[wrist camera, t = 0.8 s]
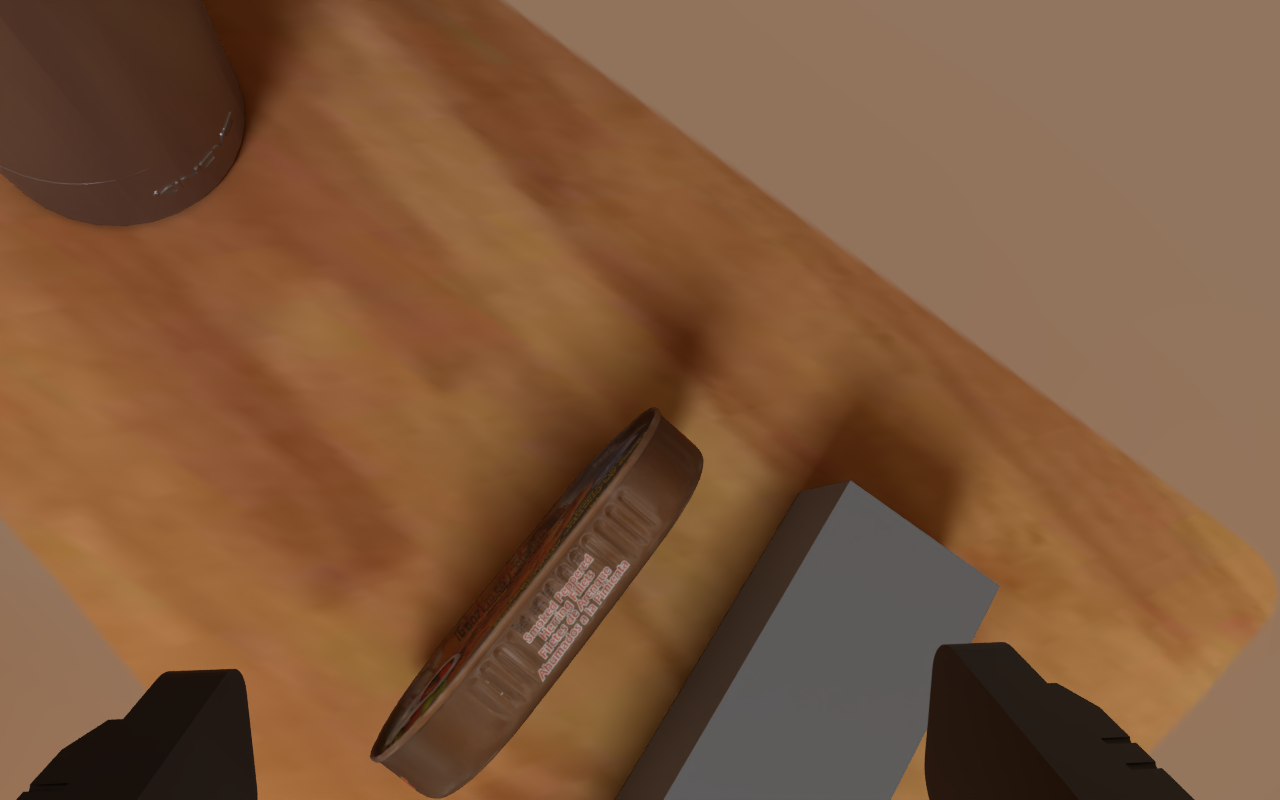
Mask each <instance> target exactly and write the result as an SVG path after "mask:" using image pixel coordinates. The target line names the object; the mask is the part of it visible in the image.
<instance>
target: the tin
mask: <svg viewBox="0 0 1280 800" xmlns="http://www.w3.org/2000/svg"><path fill="white" fill-rule="evenodd" d="M702 469H703V456H702V454H701V452H700V451H699V449H698V448H697V447H696V446H695V445H694V444H693V443H692V442H691V441H690V440H689V439H688V438H687V437H686V436H684V435H683V434H682V433H681V432H680V431H679V430H677V429H676V428H675V427H674V426H673V425H672V424H670V423H669V422H668V421H667V420H666V419H665V418H664V417H663V416H662V415H661V413H660V411H659V409H658V408H656V407H653V408H650V409H648V410H647V411H645V412H643V413H642V414H641V415H640V416H638V417H637V418H636V419H635V420H634V421H632V422H631V423H630V424H629V425H628V426H627V427H626V428H625V429H624V430H623V431H622V432H620V433H619V434H618V435H617V436H616V437H615V438H614V439H613V440H612V441H611V442H610V443H609V444H608V445H606V446H605V447H604V448H603V449H602V450H601V451H600V453H599V454H598V455H597V456H596V457H595V458H594V459H593V460H592V461H591V462H590V464H589V465H588V466H587V467H586V468H585V469H584V470H583V471H582V473H581V474H580V475H579V476H578V477H577V479H576V480H575V481H574V483H573V484H572V485H571V486H570V487H569V488H568V489H567V490H566V492H565V493H564V494H563V495H562V496H561V497H560V499H559V500H558V501H557V502H556V504H555V505H554V506H553V507H552V508H551V510H550V511H549V512H548V514H547V515H546V516H545V517H544V518H543V519H542V521H541V522H540V523H539V524H538V525H537V527H536V528H535V529H534V531H533V532H532V533H531V534H530V535H529V537H528V538H527V539H526V540H525V541H524V543H523V544H522V545H521V546H520V548H519V549H518V550H517V551H516V553H515V554H514V555H513V556H512V557H511V559H510V560H509V561H508V562H507V564H506V565H505V566H504V567H503V568H502V570H501V571H500V572H499V573H498V574H497V576H496V577H495V578H494V579H493V581H492V582H491V583H490V584H489V586H488V587H487V588H486V589H485V590H484V592H483V593H482V594H481V595H480V596H479V598H478V599H477V600H476V601H475V603H474V604H473V605H472V606H471V607H470V609H469V610H468V611H467V612H466V613H465V615H464V616H463V617H462V618H461V620H460V621H459V622H458V623H457V625H456V626H455V627H454V628H453V630H452V631H451V632H450V633H449V634H448V636H447V637H446V638H445V639H444V641H443V642H442V643H441V644H440V646H439V647H438V648H437V649H436V651H435V652H434V654H433V655H432V656H431V657H430V659H429V660H428V662H427V663H426V664H425V666H424V667H423V668H422V669H421V671H420V672H419V673H418V675H417V676H416V678H415V679H414V680H413V682H412V683H411V684H410V686H409V687H408V689H407V690H406V691H405V693H404V694H403V696H402V697H401V699H400V700H399V701H398V703H397V705H396V707H395V708H394V710H393V711H392V713H391V714H390V716H389V718H388V720H387V721H386V723H385V724H384V726H383V728H382V730H381V732H380V733H379V736H378V738H377V740H376V742H375V743H374V745H373V748H372V750H371V755H370V758H371V759H372V761H374V762H379V763H381V764H383V765H384V766H385V767H387V768H388V769H389V770H391V771H392V772H393V773H395V774H396V775H397V776H398V777H400V778H401V779H402V780H403V781H405V782H406V783H407V784H408V785H410V786H411V787H412V788H414V789H415V790H416V791H418V792H420V793H421V794H423V795H425V796H427V797H430V798H443V797H446V796H448V795H450V794H452V793H454V792H455V791H457V790H459V789H460V788H461V787H463V786H464V785H465V784H467V783H468V782H469V781H470V780H472V779H473V778H474V777H475V776H476V775H477V774H478V773H479V772H480V771H481V770H482V769H483V768H484V767H485V766H486V765H487V764H488V763H489V762H490V761H491V760H492V759H493V758H494V757H495V756H496V755H497V754H498V752H499V751H500V750H501V749H502V748H503V747H504V746H505V745H506V743H507V742H508V741H509V740H510V739H511V738H512V737H513V735H514V734H515V733H516V732H517V731H518V729H519V728H520V727H521V726H522V724H523V723H524V722H525V721H526V719H527V718H528V717H529V716H530V714H531V713H532V712H533V710H534V709H535V708H536V706H537V705H538V704H539V702H540V701H541V700H542V699H543V697H544V696H545V695H546V694H547V692H548V691H549V690H550V689H551V687H552V686H553V685H554V683H555V682H556V681H557V679H558V678H559V677H560V676H561V674H562V673H563V672H564V671H565V669H566V668H567V667H568V665H569V664H570V663H571V661H572V660H573V659H574V657H575V656H576V655H577V654H578V652H579V651H580V650H581V648H582V647H583V646H584V645H585V643H586V642H587V641H588V639H589V638H590V637H591V635H592V634H593V633H594V631H595V630H596V629H597V627H598V626H599V625H600V623H601V622H602V621H603V619H604V618H605V617H606V615H607V614H608V613H609V612H610V610H611V609H612V608H613V606H614V605H615V604H616V602H617V601H618V600H619V598H620V597H621V596H622V594H623V593H624V592H625V590H626V589H627V588H628V586H629V585H630V583H631V582H632V581H633V580H634V578H635V577H636V576H637V575H638V573H639V572H640V570H641V569H642V568H643V566H644V565H645V564H646V562H647V561H648V560H649V558H650V557H651V556H652V554H653V553H654V551H655V550H656V549H657V547H658V546H659V545H660V543H661V542H662V541H663V539H664V538H665V537H666V535H667V534H668V533H669V531H670V530H671V528H672V527H673V525H674V524H675V522H676V521H677V519H678V518H679V516H680V515H681V513H682V511H683V510H684V508H685V507H686V505H687V503H688V502H689V500H690V498H691V496H692V495H693V492H694V490H695V488H696V486H697V484H698V482H699V479H700V476H701V473H702Z"/></svg>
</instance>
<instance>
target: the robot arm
mask: <svg viewBox="0 0 1280 800" xmlns="http://www.w3.org/2000/svg"><path fill="white" fill-rule="evenodd" d="M244 125H245V114H244V102H243V96H242V94H241V91H240V88H239V85H238V82H237V79H236V76H235V74H234V72H233V69H232V67H231V65H230V63H229V60H228V58H227V56H226V54H225V51H224V49H223V47H222V45H221V43H220V40H219V38H218V36H217V34H216V31H215V29H214V26H213V24H212V21H211V19H210V17H209V15H208V12H207V10H206V8H205V6H204V4H203V1H202V0H0V173H1V174H2V175H4V176H5V177H6V178H7V179H8V180H9V181H10V182H12V183H13V184H14V185H15V186H16V187H17V188H19V189H20V190H21V191H22V192H23V193H25V194H26V195H27V196H29V197H30V198H32V199H33V200H35V201H36V202H37V203H39V204H40V205H42V206H43V207H45V208H46V209H49V210H51V211H53V212H56V213H58V214H60V215H63V216H65V217H67V218H69V219H73V220H78V221H82V222H86V223H91V224H95V225H112V226H128V225H135V224H142V223H149V222H154V221H157V220H160V219H163V218H165V217H168V216H171V215H174V214H177V213H179V212H181V211H183V210H184V209H186V208H188V207H189V206H191V205H193V204H195V203H196V202H198V201H200V200H201V199H202V198H203V197H204V196H206V195H207V194H208V193H209V192H210V191H211V190H212V189H213V188H215V187H216V186H217V185H218V184H219V183H220V181H221V180H222V179H223V177H224V176H225V174H226V173H227V172H228V170H229V169H230V167H231V166H232V165H233V163H234V160H235V158H236V155H237V153H238V151H239V148H240V146H241V143H242V138H243V131H244ZM925 779H926V786H927V791H928V796H929V800H1194V799H1193V798H1192V797H1191V796H1190V795H1189V794H1188V793H1187V792H1186V791H1185V790H1184V789H1183V788H1182V787H1181V786H1180V785H1179V784H1178V783H1177V782H1176V781H1175V780H1174V779H1173V778H1172V777H1171V776H1170V775H1168V774H1167V773H1166V772H1165V771H1164V770H1163V769H1162V768H1159V769H1157V767H1156V765H1155V761H1154V760H1153V759H1152V758H1151V757H1150V756H1149V755H1148V754H1147V753H1146V752H1145V751H1144V750H1143V749H1142V748H1141V747H1140V746H1139V745H1138V744H1137V743H1131V741H1130V736H1129V735H1127V734H1126V733H1125V732H1124V731H1123V730H1122V729H1121V728H1120V727H1119V726H1118V725H1117V724H1116V723H1115V722H1114V721H1113V720H1112V719H1111V718H1110V717H1109V716H1108V715H1107V714H1106V713H1105V712H1104V711H1103V710H1102V709H1101V708H1100V707H1098V706H1096V705H1095V704H1093V703H1091V702H1089V701H1088V700H1086V699H1084V698H1082V697H1080V696H1079V695H1077V694H1075V693H1073V692H1072V691H1070V690H1068V689H1066V688H1065V687H1063V686H1061V685H1059V684H1058V683H1047V682H1046V681H1045V680H1044V679H1043V678H1042V677H1041V676H1040V675H1039V674H1038V673H1037V672H1036V671H1035V670H1034V669H1033V668H1032V667H1031V666H1030V665H1029V664H1028V663H1027V662H1026V661H1025V660H1024V659H1023V658H1022V657H1021V656H1020V655H1019V654H1018V653H1017V652H1016V651H1015V649H1014V648H1013V647H1011V646H1010V645H1009V644H1007V643H1004V642H993V643H966V644H943V645H941V646H940V647H938V649H937V651H936V653H935V656H934V660H933V667H932V678H931V690H930V702H929V714H928V726H927V738H926V750H925ZM17 800H257V783H256V774H255V765H254V755H253V746H252V737H251V728H250V719H249V710H248V700H247V692H246V685H245V681H244V678H243V676H242V674H241V673H240V671H238V670H237V669H220V670H193V671H168V672H165V673H163V674H162V675H161V676H160V677H159V678H158V679H157V680H156V681H155V682H154V683H153V685H152V686H151V687H150V688H149V689H148V690H147V692H146V693H145V694H144V695H143V696H142V698H141V699H140V700H139V701H138V702H137V703H136V705H135V706H134V707H133V708H132V709H131V711H130V712H129V713H128V714H127V715H126V716H125V718H124V719H116V720H107V721H106V722H104V723H103V724H101V725H100V726H98V727H97V728H95V729H93V730H92V731H90V732H89V733H87V734H86V735H84V736H82V737H81V738H79V739H78V740H76V741H75V742H73V743H72V744H70V745H68V746H67V747H65V748H64V749H62V750H61V751H60V752H59V753H58V754H57V756H56V757H55V758H54V759H53V760H52V761H51V762H50V763H49V764H48V765H47V767H46V768H45V769H44V770H43V771H42V772H41V773H40V774H39V775H38V777H37V778H36V779H35V780H34V781H33V782H32V783H31V784H30V789H29V792H23V793H22V794H21V795H20V796H19V797H18V798H17Z"/></svg>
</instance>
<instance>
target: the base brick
mask: <svg viewBox="0 0 1280 800" xmlns="http://www.w3.org/2000/svg"><path fill="white" fill-rule="evenodd" d="M999 587H1000V586H999V585H997V584H996V583H995V582H993V581H992V580H990V579H989V578H988V577H986V576H985V575H983V574H982V573H981V572H979V571H978V570H976V569H975V568H973V567H972V566H971V565H969V564H968V563H966V562H965V561H964V560H962V559H961V558H959V557H958V556H957V555H955V554H954V553H952V552H951V551H950V550H948V549H947V548H945V547H944V546H942V545H941V544H940V543H938V542H937V541H935V540H934V539H933V538H931V537H930V536H928V535H927V534H926V533H924V532H923V531H921V530H920V529H918V528H917V527H916V526H914V525H913V524H911V523H910V522H909V521H907V520H906V519H904V518H903V517H902V516H900V515H899V514H897V513H896V512H895V511H893V510H892V509H890V508H889V507H887V506H886V505H885V504H883V503H882V502H880V501H879V500H878V499H876V498H875V497H873V496H872V495H871V494H869V493H868V492H866V491H865V490H863V489H862V488H861V487H859V486H858V485H856V484H855V483H854V482H852V481H851V480H849V481H845V482H840V483H836V484H831V485H826V486H822V487H817V488H813V489H808V490H804V491H800V493H799V494H798V496H797V498H796V499H795V501H794V503H793V504H792V506H791V508H790V509H789V511H788V513H787V514H786V516H785V518H784V519H783V521H782V523H781V524H780V526H779V528H778V529H777V531H776V533H775V534H774V536H773V538H772V539H771V541H770V543H769V544H768V546H767V548H766V549H765V551H764V553H763V554H762V556H761V558H760V559H759V561H758V563H757V564H756V566H755V568H754V569H753V571H752V573H751V574H750V576H749V578H748V579H747V581H746V583H745V584H744V586H743V588H742V589H741V591H740V593H739V594H738V596H737V598H736V599H735V601H734V603H733V604H732V606H731V608H730V609H729V611H728V613H727V614H726V616H725V618H724V619H723V621H722V623H721V624H720V626H719V628H718V629H717V631H716V633H715V634H714V636H713V638H712V639H711V641H710V643H709V644H708V646H707V648H706V649H705V651H704V653H703V654H702V656H701V658H700V659H699V661H698V663H697V664H696V666H695V668H694V669H693V671H692V673H691V674H690V676H689V678H688V679H687V681H686V683H685V684H684V686H683V688H682V689H681V691H680V693H679V694H678V696H677V698H676V699H675V701H674V703H673V704H672V706H671V708H670V709H669V711H668V713H667V714H666V716H665V718H664V719H663V721H662V723H661V724H660V726H659V728H658V729H657V731H656V733H655V734H654V736H653V738H652V739H651V741H650V743H649V744H648V746H647V748H646V749H645V751H644V753H643V754H642V756H641V757H640V759H639V761H638V762H637V764H636V766H635V767H634V769H633V771H632V772H631V774H630V776H629V777H628V779H627V781H626V782H625V784H624V786H623V787H622V789H621V791H620V792H619V794H618V796H617V797H616V799H615V800H891V798H892V796H893V794H894V792H895V790H896V788H897V786H898V784H899V782H900V780H901V778H902V776H903V774H904V772H905V771H906V769H907V767H908V765H909V763H910V761H911V759H912V757H913V755H914V753H915V751H916V749H917V747H918V745H919V743H920V741H921V739H922V737H923V735H924V733H925V732H926V730H927V726H928V714H929V702H930V690H931V678H932V667H933V660H934V656H935V653H936V651H937V649H938V647H940V646H941V645H943V644H966V643H971V642H972V640H973V638H974V636H975V634H976V632H977V630H978V628H979V626H980V624H981V622H982V620H983V618H984V616H985V614H986V613H987V611H988V609H989V607H990V605H991V603H992V601H993V599H994V597H995V595H996V593H997V591H998V589H999Z"/></svg>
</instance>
